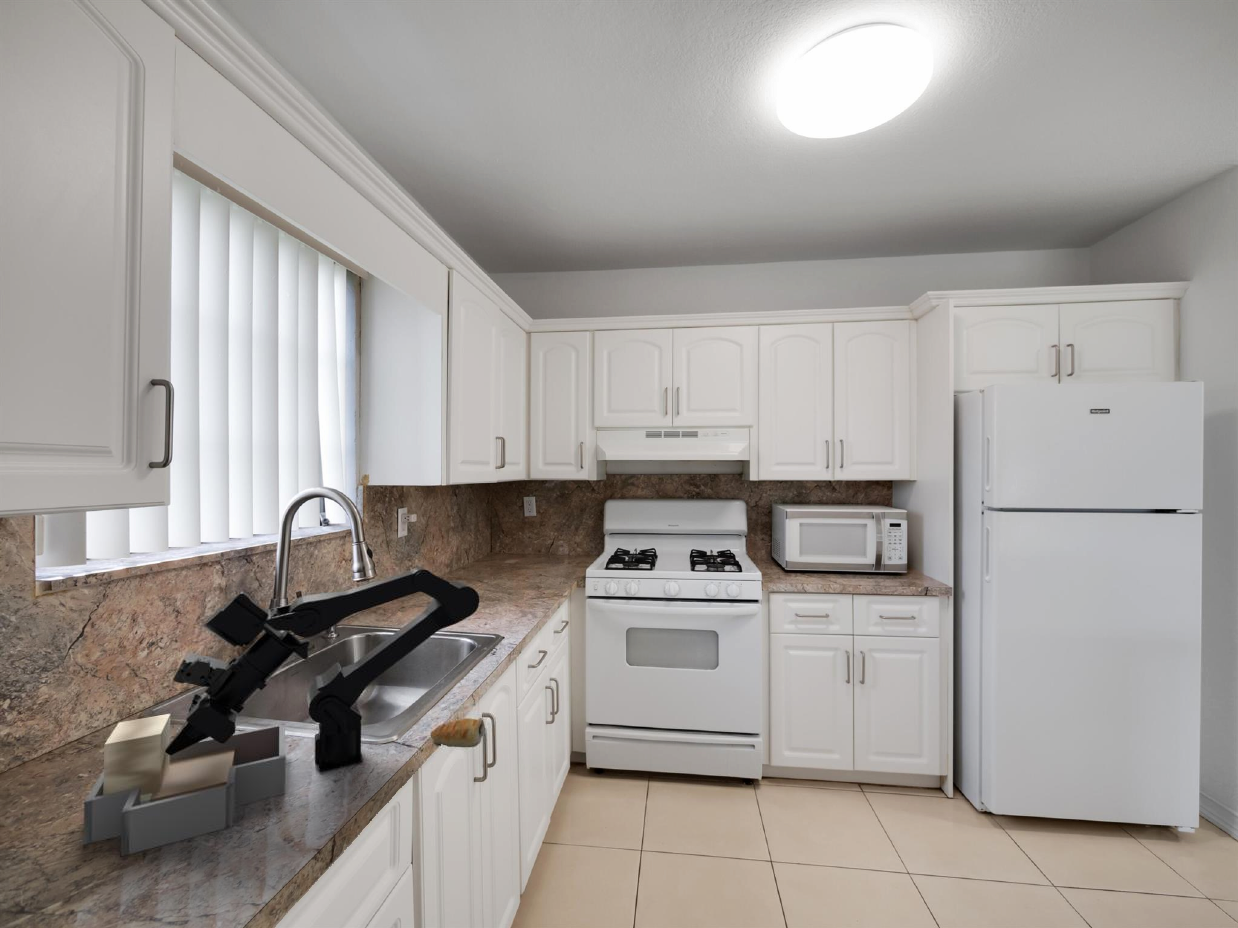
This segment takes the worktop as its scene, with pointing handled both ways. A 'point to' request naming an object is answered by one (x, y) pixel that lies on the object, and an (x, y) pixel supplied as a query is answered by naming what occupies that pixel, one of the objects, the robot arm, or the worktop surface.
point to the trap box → (191, 792)
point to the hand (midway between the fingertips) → (167, 752)
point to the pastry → (459, 733)
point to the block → (137, 755)
